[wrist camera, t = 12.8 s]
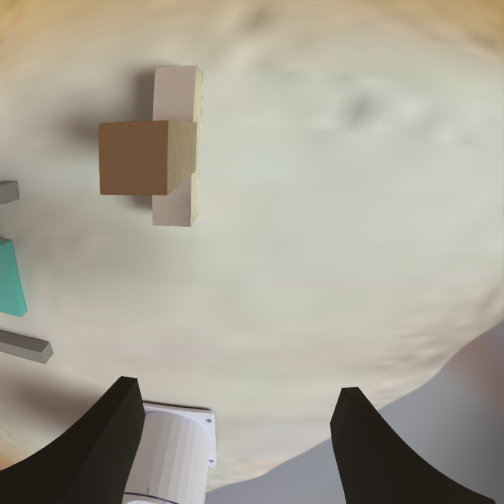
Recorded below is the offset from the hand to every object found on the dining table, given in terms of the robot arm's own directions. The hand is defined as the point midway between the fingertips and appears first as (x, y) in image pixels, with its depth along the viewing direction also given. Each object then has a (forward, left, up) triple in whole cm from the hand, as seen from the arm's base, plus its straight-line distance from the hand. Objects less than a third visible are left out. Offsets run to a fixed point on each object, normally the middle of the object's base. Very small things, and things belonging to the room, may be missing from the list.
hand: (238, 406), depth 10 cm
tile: (-1, +20, -11) cm, 23 cm away
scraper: (+8, +4, -10) cm, 14 cm away
